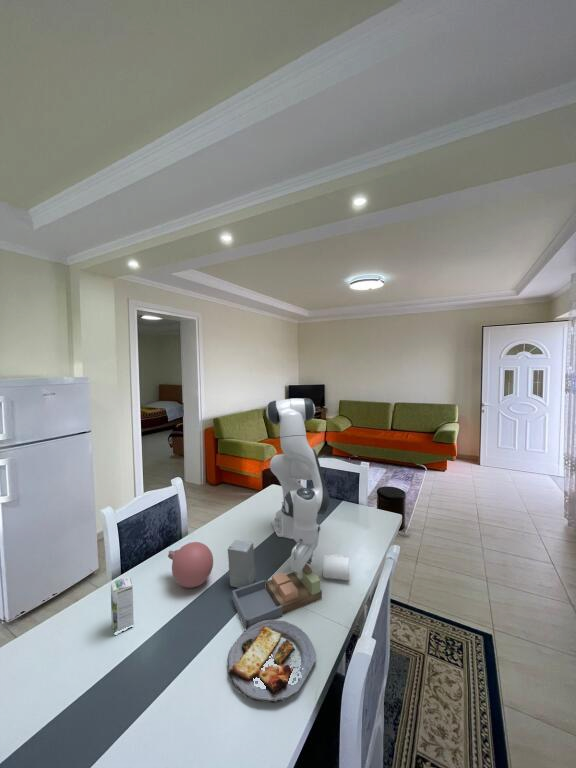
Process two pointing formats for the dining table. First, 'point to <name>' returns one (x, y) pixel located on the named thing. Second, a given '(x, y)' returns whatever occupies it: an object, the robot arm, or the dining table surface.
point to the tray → (255, 604)
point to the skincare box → (241, 563)
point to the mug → (336, 567)
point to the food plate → (256, 651)
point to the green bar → (310, 580)
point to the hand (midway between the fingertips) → (304, 569)
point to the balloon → (191, 564)
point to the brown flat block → (296, 603)
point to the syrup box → (121, 603)
